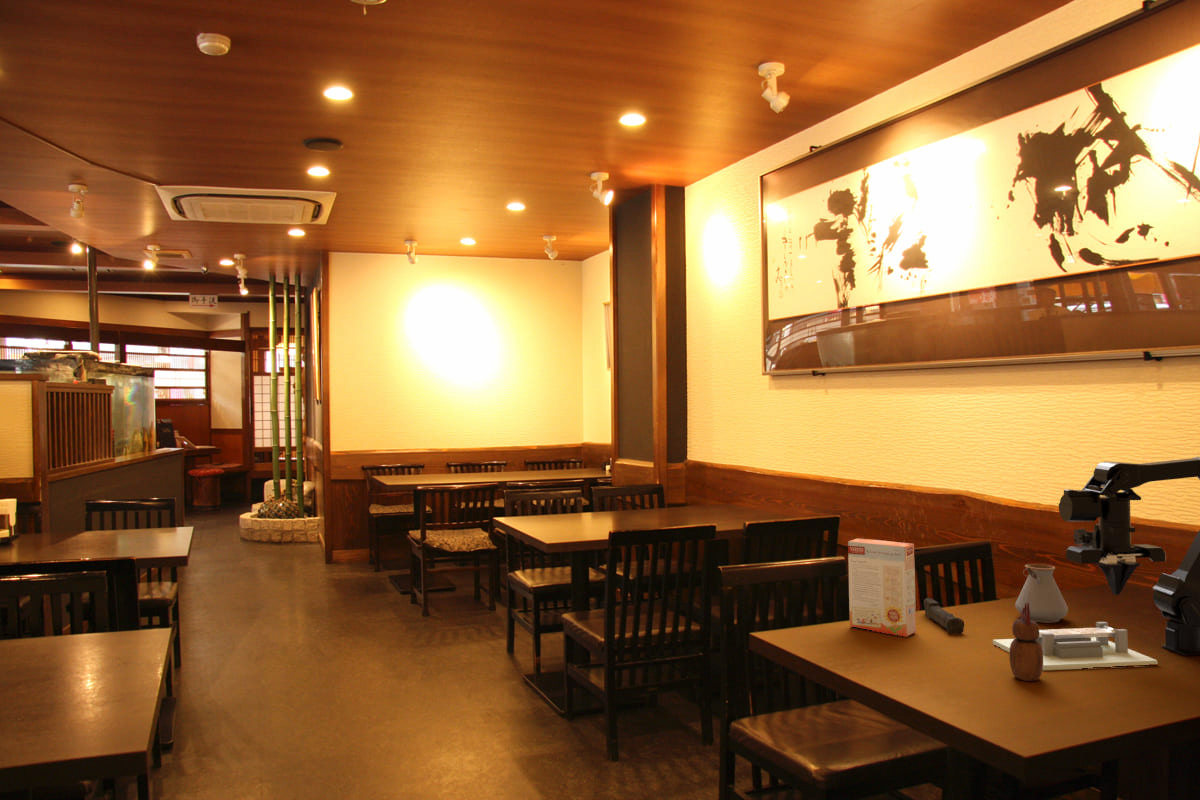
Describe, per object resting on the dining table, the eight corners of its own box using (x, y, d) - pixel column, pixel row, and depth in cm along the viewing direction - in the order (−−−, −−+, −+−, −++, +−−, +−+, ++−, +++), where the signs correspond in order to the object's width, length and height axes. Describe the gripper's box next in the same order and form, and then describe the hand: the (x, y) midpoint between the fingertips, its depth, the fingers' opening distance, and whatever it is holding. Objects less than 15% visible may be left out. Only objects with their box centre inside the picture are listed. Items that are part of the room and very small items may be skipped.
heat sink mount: (1096, 640, 182) (1095, 614, 182) (1157, 665, 164) (1156, 637, 164) (992, 644, 180) (992, 618, 180) (1043, 670, 162) (1042, 642, 162)
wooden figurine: (1042, 686, 153) (1040, 606, 153) (1008, 681, 156) (1006, 602, 156) (1044, 675, 159) (1043, 598, 159) (1011, 671, 162) (1010, 595, 162)
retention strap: (1108, 632, 175) (1108, 625, 175) (1121, 638, 171) (1121, 630, 171) (1033, 635, 173) (1033, 628, 173) (1045, 641, 169) (1045, 633, 169)
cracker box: (917, 632, 190) (915, 542, 190) (906, 638, 185) (904, 546, 186) (860, 622, 199) (858, 537, 200) (848, 627, 195) (847, 540, 195)
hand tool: (965, 635, 188) (964, 615, 188) (947, 635, 188) (947, 615, 188) (937, 614, 207) (936, 596, 207) (920, 614, 207) (920, 596, 207)
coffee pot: (1020, 610, 208) (1019, 551, 209) (1072, 617, 201) (1070, 556, 201) (1001, 629, 192) (1000, 565, 192) (1057, 637, 184) (1056, 570, 185)
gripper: (1128, 515, 183) (1130, 584, 183) (1049, 517, 181) (1050, 587, 181) (1167, 522, 172) (1168, 596, 171) (1082, 524, 170) (1084, 599, 170)
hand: (1116, 594), depth 174 cm, fingers closed
